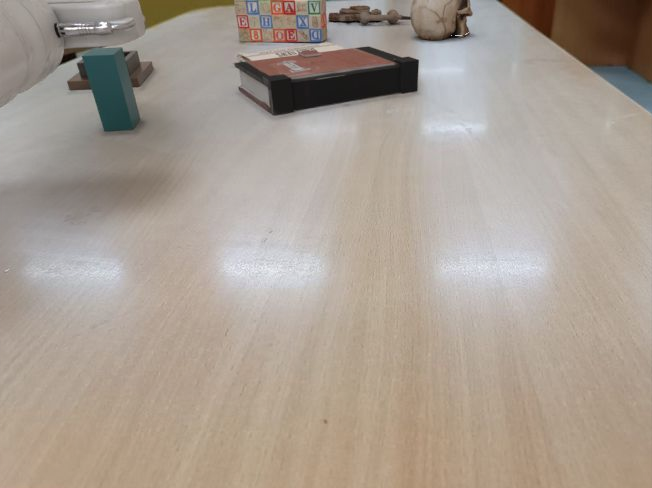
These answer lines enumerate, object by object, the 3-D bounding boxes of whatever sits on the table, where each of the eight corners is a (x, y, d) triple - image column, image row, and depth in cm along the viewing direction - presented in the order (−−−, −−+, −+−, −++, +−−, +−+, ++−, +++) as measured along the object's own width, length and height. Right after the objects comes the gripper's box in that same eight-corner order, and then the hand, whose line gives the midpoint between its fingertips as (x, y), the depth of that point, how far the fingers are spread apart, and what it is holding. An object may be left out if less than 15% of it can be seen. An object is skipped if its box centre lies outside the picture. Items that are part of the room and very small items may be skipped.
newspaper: (320, 49, 118) (320, 37, 117) (351, 63, 111) (351, 51, 109) (229, 61, 107) (228, 49, 105) (256, 79, 100) (255, 66, 98)
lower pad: (69, 90, 91) (61, 66, 88) (91, 71, 102) (85, 50, 100) (139, 86, 92) (133, 63, 90) (153, 68, 104) (148, 47, 101)
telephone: (443, 24, 143) (444, 7, 141) (325, 25, 145) (324, 9, 142) (438, 19, 156) (439, 3, 154) (330, 20, 158) (330, 4, 155)
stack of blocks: (328, 38, 129) (325, -18, 122) (322, 43, 124) (319, -15, 117) (247, 37, 132) (241, -18, 125) (238, 41, 127) (231, -15, 120)
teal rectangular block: (103, 131, 72) (81, 55, 66) (112, 120, 76) (92, 48, 70) (133, 129, 72) (113, 54, 67) (140, 118, 77) (122, 47, 71)
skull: (467, 28, 137) (471, -28, 128) (475, 49, 124) (481, -13, 115) (408, 31, 138) (409, -25, 129) (410, 52, 125) (411, -9, 116)
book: (366, 70, 100) (366, 43, 97) (417, 90, 87) (418, 59, 85) (237, 89, 90) (233, 59, 87) (273, 115, 77) (270, 81, 74)
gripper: (117, -13, 43) (148, -25, 55) (-149, -4, 41) (-58, -18, 52) (137, 65, 47) (162, 39, 58) (-107, 78, 44) (-31, 48, 56)
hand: (56, 12), depth 55 cm, fingers open, 8 cm apart
